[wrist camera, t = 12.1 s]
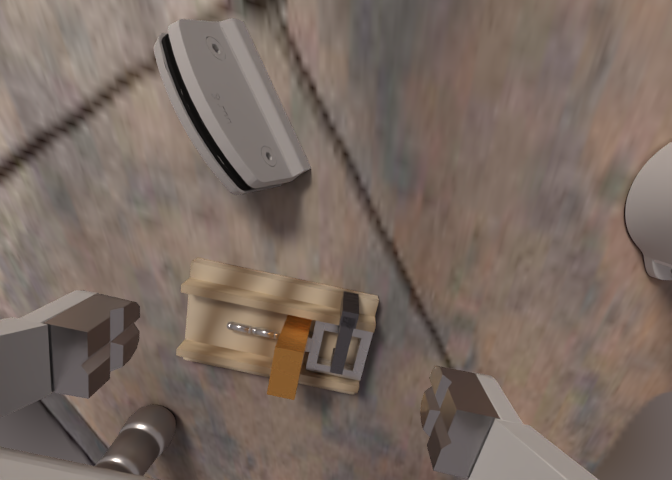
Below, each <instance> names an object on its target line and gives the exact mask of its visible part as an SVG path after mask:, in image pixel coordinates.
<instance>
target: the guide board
mask: <svg viewBox="0 0 672 480" xmlns="http://www.w3.org/2000/svg"><path fill="white" fill-rule="evenodd" d="M344 291H347V292H352V293H356V294H359V317H358V321H357V325H356V329H359V330H363V331H368V332H373V333H374V331H375V327H376V322H375V314H376V310H377V307H378V303H379V299H378V296H376V295H372V294H367V293H362V292H357V291H353V290H348V289H343V288H338V287H334V286H329V285H324V284H319V283H315V282H310V281H305V280H300V279H296V278H291V277H286V276H281V275H277V274H272V273H267V272H262V271H258V270H253V269H248V268H243V267H238V266H234V265H229V264H224V263H219V262H215V261H210V260H205V259H200V258H196V259H195V260H193V261H192V262H191V271H190V278H189V279H188V280H187V281H185V282H184V283H183V284H181V292H182V293H187V294H189V296H188V309H187V321H186V334H185V340H184V341H183V342H182V343H181V345H180V346H179V347H178V348H177V353H176V356H181V357H184V360H189V361H193V362H198V363H203V364H208V365H213V366H218V367H222V368H227V369H232V370H237V371H242V372H246V373H251V374H256V375H261V376H266V377H270V373H271V367H272V362H273V356H274V350H275V346H276V343H277V341H278V338H279V337H278V338H277V339H272V338H267V337H262V336H258V335H254V334H253V333H251V334H248V333H243V332H238V331H234V330H229V329H227V326H226V325H227V323H228V322H230V321H232V322H237V323H242V324H246V325H251V326H253V328H254V327H261V328H266V329H270V330H275V331H278V332H279V336H280V333H281V331H282V328H283V326H284V323H285V321H286V318H287V315H292V316H297V317H301V318H306V319H311V320H312V322H311V327H310V332H312V333H313V332H314V327H315V322H316V321H320V322H325V323H330V324H335V325H339V320H340V307H341V301H342V297H343V292H344ZM337 337H338V333H334V332H329V331H325V330H324V333H323V337H322V342H321V346H320V351H319V355H318V358H323V359H327V360H331V356H332V352H333V348H335V345H336V341H337ZM359 339H360V338H358V337H353V336H352V338H351V342H350V345H349V349H348V353H347V357H346V361H345V363H347V364H351V365H353V362H354V358H355V354H356V351H357V347H358V343H359ZM308 356H309V352H306V351H305V356H304V360H303V365H302V369H301V373H300V377H299V382H298V383H299V384H304V385H309V386H314V387H318V388H323V389H328V390H333V391H338V392H342V393H347V394H352V395H354V393H358V389H359V381H358V380H353V379H349V378H344V377H339V376H334V375H329V374H325V373H320V372H315V371H310V370H306V365H307V360H308Z"/></svg>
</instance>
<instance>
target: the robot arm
mask: <svg viewBox="0 0 672 480" xmlns="http://www.w3.org/2000/svg"><path fill="white" fill-rule="evenodd" d="M625 219H626V225H627V229H628V232H629V234H630V236H631V238H632V240H633V241H634V242H635V244H636V245H637V246H638V247H639V249H640V250H641V251H642V253H643V255H644V262H645V267H646V271H647V273H648V275H649V276H651V277H653V278H657V279H660V280H672V142H670V143H669V144H667V145H666V146H664V147H663V148H662V149H660V150H659V151H658V152H657V153H656V154H655V155H654V156H652V157H651V158H650V160H649V161H648V162H647V163H646V164H645V165H644V166H643V168H642V169H641V170H640V172H639V173H638V175H637V176H636V178H635V180H634V182H633V184H632V186H631V188H630V191H629V194H628V197H627V202H626V208H625ZM139 318H140V306H139V305H138V304H137V303H136V302H134V301H129V300H125V299H121V298H116V297H112V296H108V295H103V294H99V293H95V292H90V291H85V290H75V291H73V292H71V293H69V294H67V295H65V296H63V297H61V298H59V299H57V300H55V301H53V302H51V303H49V304H47V305H45V306H43V307H41V308H39V309H37V310H35V311H33V312H31V313H29V314H27V315H25V316H23V317H21V318H19V319H18V318H13V317H11V318H6V319H1V320H0V418H1V417H3V416H5V415H7V414H10V413H12V412H14V411H16V410H18V409H21V408H23V407H25V406H27V405H29V404H31V403H34V402H36V401H38V400H40V399H42V398H44V397H46V396H49V395H51V394H52V392H54V393H60V394H65V395H71V396H77V397H82V398H88V399H89V398H90V397H91V396H92V395H93V394H94V393H95V392H96V391H97V390H98V389H99V388H101V387H102V386H103V385H104V384H105V383H106V382H107V381H108V380H109V379H110V371H113V370H115V369H118V368H121V367H123V366H124V365H125V364H126V363H127V362H128V361H129V360H130V359H131V357H132V356H133V354H134V352H135V351H136V349H137V346H138V342H139V330H138V328H137V327H136V325H135V324H134V323H135V322H136V321H137V320H138V319H139ZM429 379H430V382H431V385H432V386H431V387H430V388H429V389H427V390H426V391H425V392H424V395H423V398H422V401H421V411H420V414H421V423H422V427H423V430H424V431H425V432H426V433H427V435H428V436H429V437H430V438H429V441H428V443H427V447H428V451H429V455H430V459H431V463H432V467H433V471H438V472H442V473H446V474H450V475H454V476H458V477H463V478H467V479H469V480H598V479H597V478H596V477H594V476H593V475H592V474H591V473H589V472H588V471H587V470H585V469H584V468H583V467H582V466H580V465H579V464H578V463H577V462H575V461H574V460H573V459H571V458H570V457H569V456H568V455H566V454H565V453H564V452H563V451H561V450H560V449H559V448H557V447H556V446H555V445H554V444H552V443H551V442H550V441H549V440H547V439H546V438H545V437H543V436H542V435H541V434H540V433H538V432H537V431H536V430H535V429H533V428H532V427H531V426H529V425H524V424H523V423H522V421H521V420H520V418H519V416H518V415H517V413H516V412H515V410H514V408H513V407H512V405H511V404H510V402H509V400H508V399H507V397H506V396H505V394H504V392H503V391H502V389H501V388H500V386H499V384H498V383H497V381H496V380H495V378H493V377H492V376H490V375H485V374H479V373H474V372H466V371H461V370H456V369H451V368H445V367H440V366H435V367H434V368H433V369H432V372H431V374H430V377H429ZM0 480H159V479H154V478H149V477H144V476H140V475H135V474H130V473H125V472H120V471H115V470H111V469H106V468H101V467H96V466H91V465H86V464H81V463H77V462H72V461H67V460H62V459H57V458H52V457H48V456H43V455H38V454H33V453H28V452H23V451H19V450H14V449H9V448H4V447H0Z"/></svg>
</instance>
